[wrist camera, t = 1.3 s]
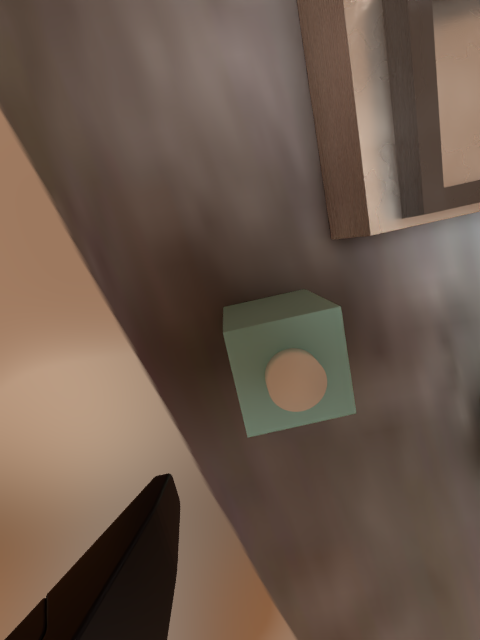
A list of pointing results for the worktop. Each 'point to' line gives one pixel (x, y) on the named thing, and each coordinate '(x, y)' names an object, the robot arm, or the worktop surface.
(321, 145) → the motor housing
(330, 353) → the green block with knob
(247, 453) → the worktop surface
